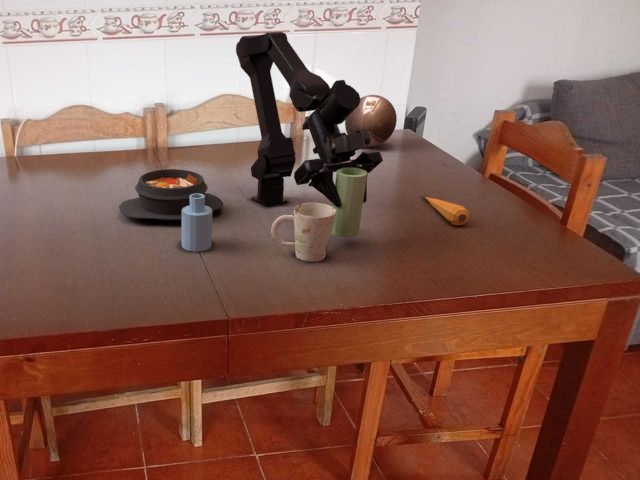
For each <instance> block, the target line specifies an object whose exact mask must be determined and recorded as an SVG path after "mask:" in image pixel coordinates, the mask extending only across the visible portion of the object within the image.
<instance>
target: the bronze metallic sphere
mask: <svg viewBox="0 0 640 480" xmlns="http://www.w3.org/2000/svg"><path fill="white" fill-rule="evenodd" d="M397 121H398V117H397V112H396V109H395V107H394V105H393V104H392V102H390V101H389V99H387V98H386V97H384V96H381V95H378V94H368V95H365V96H362V97H360V104H359V105H358V107H357V108H356V109H355V110H354V111H353V112H352V113H351V114H350V115H349V117H348V118H347V119H346V120H345V121H344V127H345V131H346V132H345V133H346V134H347V135H349V134H355V131H357V130H360V129H365V128H367V130H368V132H369V134H370V138H371V142H370V144H367V145H365V148H374V147H378V146H381V145H382V144H384V143H385V142H387V141H388V140H389V139H390V138H391V136H392V135H393V133H395V129H396V127H397Z"/></svg>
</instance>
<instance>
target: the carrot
mask: <svg viewBox="0 0 640 480" xmlns="http://www.w3.org/2000/svg"><path fill="white" fill-rule="evenodd" d="M424 198H425V199H426V201H428V202H429V204H430V205H431V206H432V207H433V208H434V209H435V210H436V211H437V212H439V214H440V215H442V216H443V217H444V218H445V219H446V220H447V221H448V222H449V223H450V224H451V225H453V226H463V225H465V224H466V223H467V222H468V221H469V216H470V213H469V211H468V210H467V209H466V208H465V206H463V205H459V204H457V203H453V202H448V201H446V200H441V199H437V198H432V197H426V196H424Z"/></svg>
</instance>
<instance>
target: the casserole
mask: <svg viewBox="0 0 640 480" xmlns="http://www.w3.org/2000/svg"><path fill="white" fill-rule="evenodd" d="M134 190H135V192H136V193H137V194H138V197H134V198H129V199H127V200H124V201H122V202H121V203H120V204H119V206H118V209H119V211H120V212H121V213H122V214H123V215H125V216H127V217H129V218H132V219H139V220H147V219H149V220H151V219H152V220H160V221H168V222H169V221H171V222H172V221H173V222H174V221H182V209H183V208H184V207H186V206H190V195H191V194H203V195H205V206H208V207H210V208H212V212H214V211H219V210H220V209H222V208H223V207H224V201H223V200H222V199H221V198H220V197H218V196H217V195H215V194H212V193H209V192H207V191H208V185H207V183H206V182H205V179H204V177H203V175H201V174H199V173H198V172H195V171H192V170H187V169H175V168H166V169H158V170H157V169H156V170H151V171H148V172H146V173H143V174H142V175H140V177H139V178H138V181H137V183H136V184H135V186H134Z"/></svg>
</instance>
